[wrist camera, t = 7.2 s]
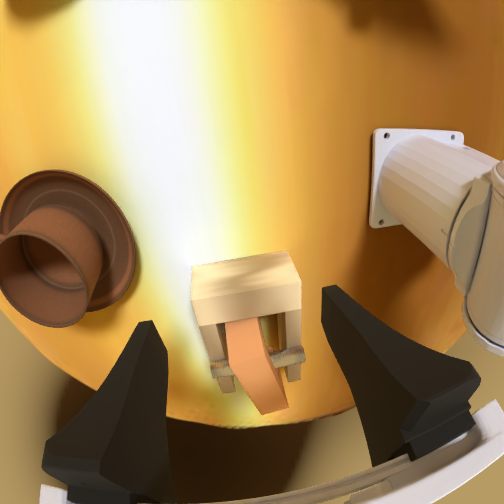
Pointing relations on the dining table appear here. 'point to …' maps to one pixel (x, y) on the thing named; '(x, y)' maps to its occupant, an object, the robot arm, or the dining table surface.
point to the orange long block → (255, 365)
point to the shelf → (249, 308)
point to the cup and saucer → (63, 248)
